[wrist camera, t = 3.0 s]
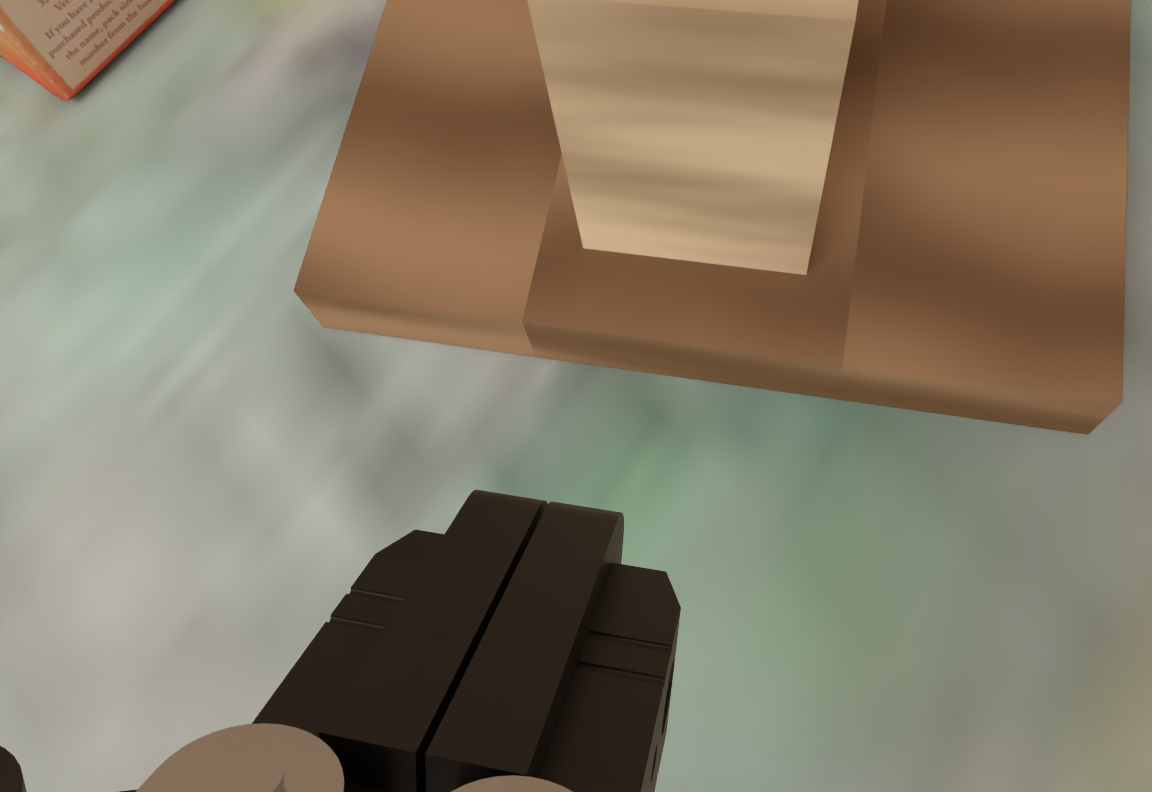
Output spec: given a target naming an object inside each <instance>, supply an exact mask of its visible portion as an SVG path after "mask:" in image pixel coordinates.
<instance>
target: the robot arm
mask: <svg viewBox="0 0 1152 792" xmlns="http://www.w3.org/2000/svg"><path fill="white" fill-rule="evenodd" d="M623 533H624V517H623V513H620V512H614V511H607V510H601V509H595V508H589V507H582V506H576V505H570V504H564V503H557V502H550V503H549V504H548V503H547V502H546V501H543V500H537V499H531V498H525V497H518V496H512V495H506V494H500V493H493V492H487V491H481V490H474V491H473V492H472V493H471V494H470V495H469V497H468V498H467V500H466V502H465V503H464V505H463V506H462V508H461V509H460V511H459V513H458V514H457V516H456V517H455V519H454V520H453V522H452V524H451V525H450V527H449V528H448V530H447V531H446V533H445V535H444V534H438V533H432V532H426V531H420V530H414V531H412V532H411V533H409V534H407V535H406V536H404V537H402V538H401V539H399V540H398V541H396V542H394V543H393V544H391V545H389V546H388V547H386V548H385V549H383V550H381V551H380V552H378V553H376V554H375V555H374V556H373V558H372V559H371V561H370V562H369V563H368V565H367V566H366V567H365V569H364V570H363V572H362V573H361V574H360V576H359V577H358V578H357V580H356V581H355V583H354V584H353V585H352V587H351V592H350V594H346V595H345V596H344V598H343V599H342V600H341V602H340V603H339V605H338V606H337V607H336V609H335V610H334V611H333V613H332V614H331V619H330V622H325V624H324V625H323V627H322V628H321V629H320V631H319V632H318V633H317V635H316V636H315V638H314V639H313V640H312V642H311V643H310V644H309V646H308V647H307V649H306V650H305V651H304V653H303V654H302V655H301V657H300V658H299V660H298V661H297V662H296V664H295V665H294V666H293V668H292V669H291V671H290V672H289V673H288V675H287V676H286V677H285V679H284V680H283V682H282V683H281V684H280V686H279V687H278V688H277V690H276V691H275V693H274V694H273V695H272V697H271V698H270V699H269V701H268V702H267V704H266V705H265V706H264V708H263V709H262V710H261V712H260V713H259V715H258V716H257V717H256V719H255V720H254V721H253V723H252V724H246V725H241V726H235V727H230V728H226V729H223V730H220V731H216V732H213V733H211V734H208V735H206V736H204V737H201V738H199V739H197V740H195V741H193V742H191V743H190V744H188V745H186V746H184V747H183V748H181V749H180V750H178V751H177V752H176V753H174V754H173V755H171V756H170V757H169V758H168V759H167V760H166V761H165V762H164V763H162V764H161V765H160V766H159V767H158V768H157V769H156V770H155V771H154V772H153V774H152V775H151V776H150V777H149V778H148V779H147V780H146V781H145V782H144V783H143V785H142V786H141V787H140V788H139V789H138V790H130V791H121V792H654V791H655V786H656V780H657V774H658V771H659V766H660V761H661V756H662V751H663V746H664V741H665V736H666V731H667V723H668V714H669V705H670V697H671V688H672V679H673V670H674V662H675V653H676V644H677V636H678V627H679V618H680V610H681V607H680V605H679V602H678V600H677V597H676V595H675V592H674V590H673V588H672V585H671V583H670V580H669V578H668V575H667V573H666V572H664V571H658V570H652V569H646V568H641V567H635V566H629V565H623V564H621V558H622V546H623ZM0 792H26V788H25V784H24V779H23V775H22V771H21V767H20V765H19V763H18V762H17V760H16V759H15V757H14V756H13V755H12V754H11V753H10V752H9V751H7V750H6V749H5V748H3V747H1V746H0Z"/></svg>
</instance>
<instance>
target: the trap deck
mask: <svg viewBox="0 0 1152 792" xmlns="http://www.w3.org/2000/svg"><path fill="white" fill-rule="evenodd" d="M1130 15H1131V0H858V6H857V14H856V21H855V26H854V31H853V36H852V42H851V47H850V52H849V57H848V62H847V67H846V72H845V78H844V83H843V88H842V93H841V98H840V103H839V109H838V114H837V119H836V124H835V129H834V134H833V140H832V145H831V150H830V155H829V160H828V165H827V171H826V176H825V181H824V186H823V191H822V196H821V201H820V207H819V212H818V217H817V222H816V227H815V232H814V238H813V243H812V248H811V253H810V258H809V263H808V269H807V274H806V275H802V274H793V273H785V272H777V271H768V270H760V269H752V268H744V267H735V266H727V265H719V264H710V263H702V262H694V261H685V260H677V259H669V258H660V257H652V256H644V255H635V254H627V253H619V252H610V251H602V250H594V249H585V248H583V245H582V241H581V236H580V232H579V227H578V223H577V218H576V214H575V210H574V205H573V201H572V196H571V192H570V187H569V183H568V179H567V174H566V170H565V165H564V161H563V157H562V152H561V148H560V143H559V139H558V134H557V130H556V126H555V121H554V117H553V112H552V108H551V103H550V99H549V95H548V90H547V86H546V81H545V77H544V72H543V68H542V64H541V59H540V55H539V50H538V46H537V42H536V37H535V33H534V28H533V24H532V19H531V15H530V11H529V6H528V2H527V0H387V2H386V6H385V9H384V12H383V15H382V18H381V21H380V24H379V27H378V30H377V33H376V37H375V40H374V43H373V46H372V49H371V52H370V55H369V58H368V61H367V64H366V68H365V71H364V74H363V77H362V80H361V83H360V86H359V89H358V92H357V95H356V99H355V102H354V105H353V108H352V111H351V114H350V117H349V120H348V123H347V126H346V130H345V133H344V136H343V139H342V142H341V145H340V148H339V151H338V154H337V157H336V160H335V164H334V167H333V170H332V173H331V176H330V179H329V182H328V185H327V188H326V191H325V195H324V198H323V201H322V204H321V207H320V210H319V213H318V216H317V219H316V222H315V226H314V229H313V232H312V235H311V238H310V241H309V244H308V247H307V250H306V253H305V257H304V260H303V263H302V266H301V269H300V272H299V275H298V278H297V281H296V284H295V288H294V292H295V293H296V294H297V296H298V297H299V298H300V299H301V300H302V302H303V303H304V304H305V305H306V307H307V308H308V309H309V310H310V311H311V313H312V314H313V315H314V316H315V317H316V319H317V320H318V321H319V322H320V324H321V325H322V326H323V327H328V328H335V329H342V330H349V331H356V332H363V333H370V334H377V335H385V336H392V337H399V338H406V339H413V340H420V341H427V342H434V343H441V344H449V345H456V346H463V347H470V348H477V349H484V350H491V351H498V352H505V353H512V354H520V355H527V356H534V357H541V358H548V359H555V360H562V361H569V362H576V363H584V364H591V365H598V366H605V367H612V368H619V369H626V370H633V371H640V372H648V373H655V374H662V375H669V376H676V377H683V378H690V379H697V380H704V381H711V382H719V383H726V384H733V385H740V386H747V387H754V388H761V389H768V390H775V391H783V392H790V393H797V394H804V395H811V396H818V397H825V398H832V399H839V400H846V401H854V402H861V403H868V404H875V405H882V406H889V407H896V408H903V409H910V410H918V411H925V412H932V413H939V414H946V415H953V416H960V417H967V418H974V419H981V420H989V421H996V422H1003V423H1010V424H1017V425H1024V426H1031V427H1038V428H1045V429H1053V430H1060V431H1067V432H1074V433H1081V434H1089V433H1090V432H1091V431H1092V430H1093V429H1094V428H1095V427H1096V426H1097V425H1098V424H1099V423H1101V422H1102V421H1103V420H1104V419H1105V418H1106V417H1107V416H1108V415H1109V414H1110V413H1111V412H1112V411H1113V410H1114V409H1115V408H1117V407H1118V406H1119V405H1120V404H1121V403H1122V381H1123V335H1124V289H1125V243H1126V198H1127V152H1128V106H1129V60H1130Z"/></svg>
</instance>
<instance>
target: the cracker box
mask: <svg viewBox="0 0 1152 792" xmlns="http://www.w3.org/2000/svg"><path fill="white" fill-rule="evenodd" d="M174 1H175V0H0V56H1V57H2V58H4V59H5V60H7V61H8V62H9V63H11V64H12V65H14V66H15V67H17V68H18V69H19V70H21V71H22V72H24V73H25V74H27V75H28V76H29V77H31V78H32V79H34V80H35V81H36V82H38V83H39V84H40V85H42V86H43V87H45V88H46V89H47V90H49V91H50V92H51V93H53V94H54V95H55V96H57V97H59V98H60V99H62V100H64V101H69V100H70V99H72V98H73V97H74V96H75V95H76V94H77V93H78V92H79V91H80V90H81V89H82V88H83V87H84V86H85V85H86V84H87V83H88V82H89V81H90V80H91V79H93V78H94V77H95V76H96V75H97V74H98V73H99V72H100V71H101V70H102V69H103V68H104V67H105V66H106V65H108V64H109V63H110V62H111V61H112V60H113V59H114V58H115V57H116V56H117V55H118V54H119V53H120V52H121V51H122V50H123V49H125V48H126V47H127V46H128V45H129V44H130V43H131V42H132V41H133V40H134V39H135V38H136V37H137V36H138V35H139V34H140V33H141V32H142V31H143V30H144V29H145V28H147V27H148V26H149V25H150V24H151V23H152V22H153V21H154V20H155V19H156V18H157V17H158V16H159V15H160V14H161V13H162V12H163V11H164V10H165V9H167V8H168V7H169V6H170V5H171V4H172V3H173V2H174Z"/></svg>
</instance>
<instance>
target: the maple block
mask: <svg viewBox="0 0 1152 792" xmlns="http://www.w3.org/2000/svg"><path fill="white" fill-rule="evenodd" d="M527 2H528V6H529V11H530V15H531V19H532V24H533V28H534V33H535V37H536V42H537V46H538V50H539V55H540V59H541V64H542V68H543V72H544V77H545V81H546V86H547V90H548V95H549V99H550V103H551V108H552V112H553V117H554V121H555V126H556V130H557V134H558V139H559V143H560V148H561V152H562V157H563V161H564V165H565V170H566V174H567V179H568V183H569V187H570V192H571V196H572V201H573V205H574V210H575V214H576V218H577V223H578V227H579V232H580V236H581V241H582V245H583V248H585V249H594V250H602V251H610V252H619V253H627V254H635V255H644V256H652V257H660V258H669V259H677V260H685V261H694V262H702V263H710V264H719V265H727V266H735V267H744V268H752V269H760V270H768V271H777V272H785V273H793V274H802V275H806V274H807V269H808V263H809V258H810V253H811V248H812V243H813V238H814V232H815V227H816V222H817V217H818V212H819V207H820V201H821V196H822V191H823V186H824V181H825V176H826V171H827V165H828V160H829V155H830V150H831V145H832V140H833V134H834V129H835V124H836V119H837V114H838V109H839V103H840V98H841V93H842V88H843V83H844V78H845V72H846V67H847V62H848V57H849V52H850V47H851V42H852V36H853V31H854V26H855V21H856V14H857V6H858V0H527Z"/></svg>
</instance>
